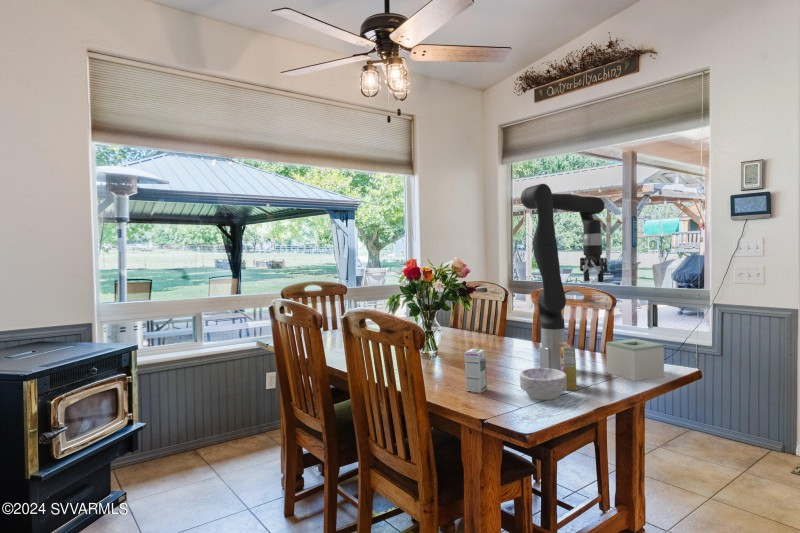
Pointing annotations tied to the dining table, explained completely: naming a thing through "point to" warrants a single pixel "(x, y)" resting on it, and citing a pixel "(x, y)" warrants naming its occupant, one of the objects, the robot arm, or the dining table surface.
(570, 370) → the candy box
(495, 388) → the dining table surface
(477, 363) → the syrup box
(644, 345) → the box
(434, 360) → the dining table surface
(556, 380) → the marbled stone bowl
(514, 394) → the dining table surface
